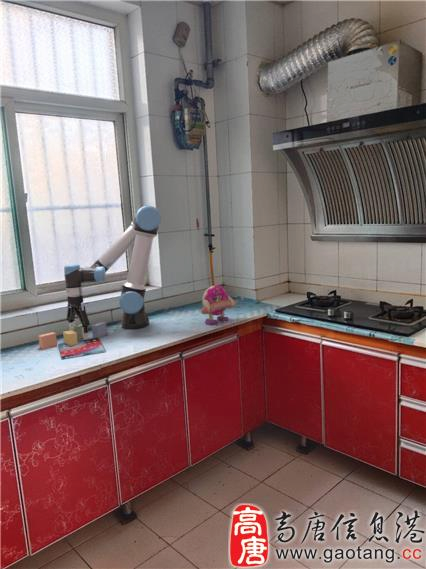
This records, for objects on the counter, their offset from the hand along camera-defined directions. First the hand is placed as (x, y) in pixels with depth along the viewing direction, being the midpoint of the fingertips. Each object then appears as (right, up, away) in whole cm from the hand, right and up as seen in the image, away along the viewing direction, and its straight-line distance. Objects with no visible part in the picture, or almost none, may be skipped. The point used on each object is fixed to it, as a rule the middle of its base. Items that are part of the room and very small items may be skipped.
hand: (79, 336), depth 221 cm
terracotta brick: (-11, -3, -13) cm, 17 cm away
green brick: (0, 0, 0) cm, 0 cm away
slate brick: (+10, +1, +1) cm, 10 cm away
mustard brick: (0, -2, -11) cm, 12 cm away
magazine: (+7, -4, -19) cm, 20 cm away
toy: (+70, +6, +13) cm, 72 cm away
